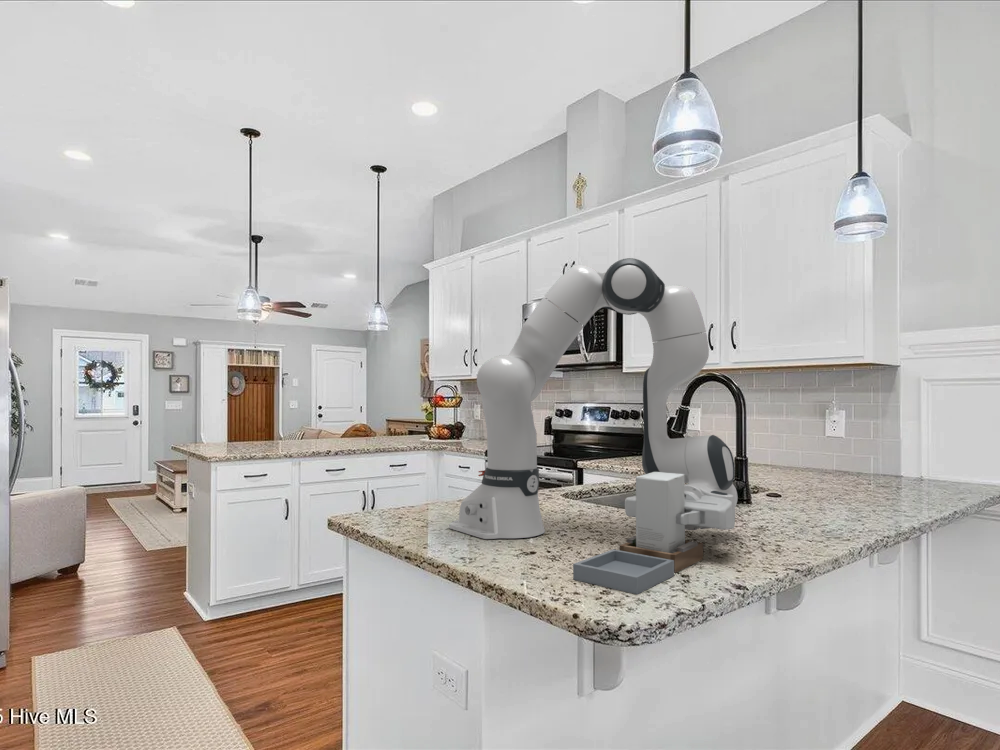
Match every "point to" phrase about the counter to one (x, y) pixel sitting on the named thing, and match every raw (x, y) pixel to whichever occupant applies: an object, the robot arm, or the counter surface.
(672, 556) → the walnut caddy
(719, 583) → the counter surface
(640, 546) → the skincare box
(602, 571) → the slate tray
